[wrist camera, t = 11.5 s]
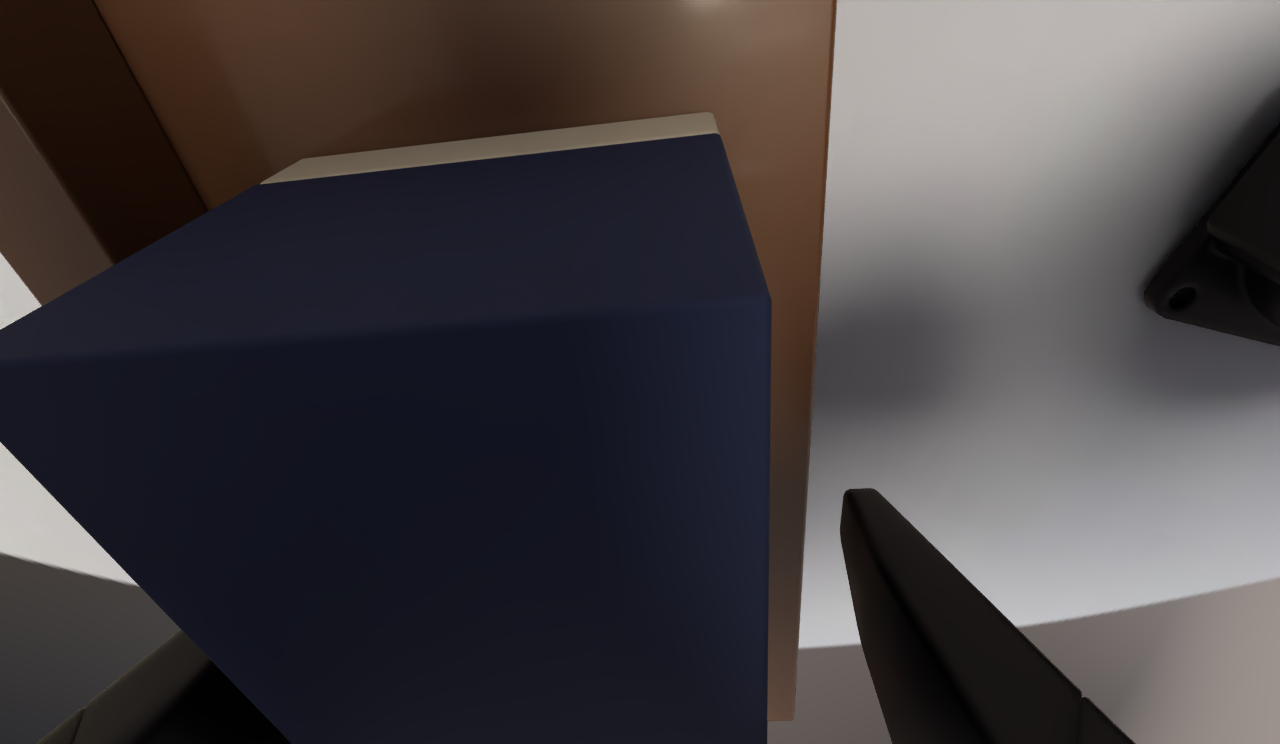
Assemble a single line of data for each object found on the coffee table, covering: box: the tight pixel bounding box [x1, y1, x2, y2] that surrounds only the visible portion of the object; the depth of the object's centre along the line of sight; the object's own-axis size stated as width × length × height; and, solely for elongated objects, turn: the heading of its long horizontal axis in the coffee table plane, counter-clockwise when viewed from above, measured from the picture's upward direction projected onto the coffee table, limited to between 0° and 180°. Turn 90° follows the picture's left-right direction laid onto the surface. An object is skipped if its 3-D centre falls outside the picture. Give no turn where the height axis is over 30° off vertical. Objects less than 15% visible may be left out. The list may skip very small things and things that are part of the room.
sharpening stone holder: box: [0, 0, 837, 721], centre depth 11 cm, size 9×18×6 cm, turn 7°
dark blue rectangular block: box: [0, 112, 772, 744], centre depth 8 cm, size 11×5×4 cm, turn 7°
